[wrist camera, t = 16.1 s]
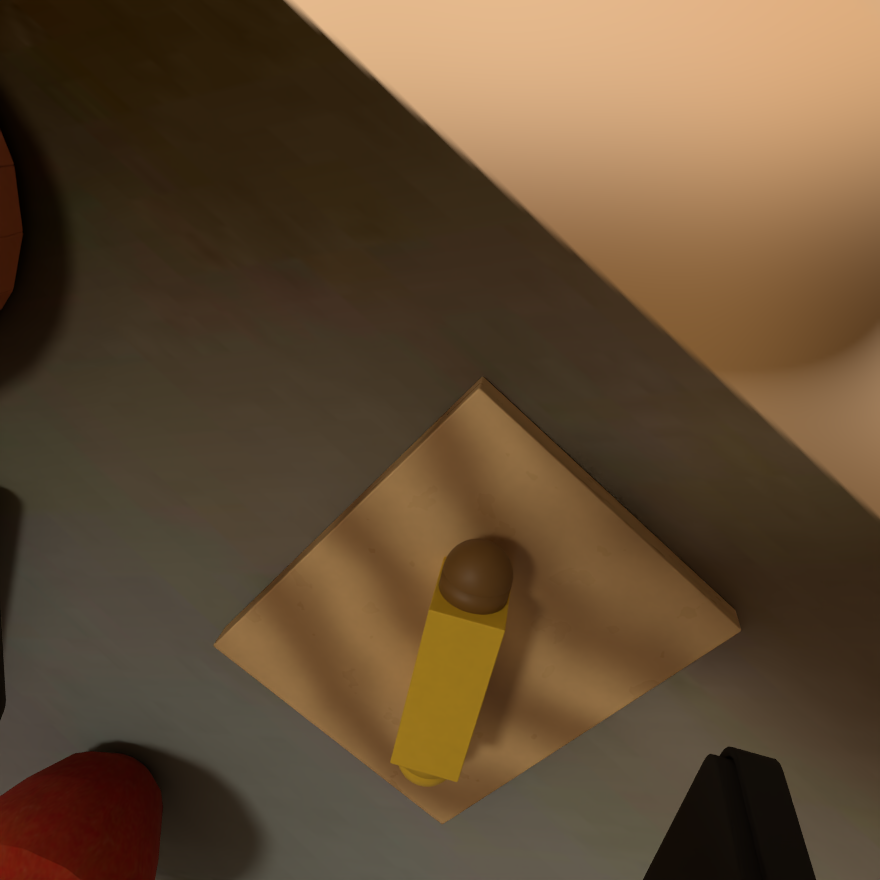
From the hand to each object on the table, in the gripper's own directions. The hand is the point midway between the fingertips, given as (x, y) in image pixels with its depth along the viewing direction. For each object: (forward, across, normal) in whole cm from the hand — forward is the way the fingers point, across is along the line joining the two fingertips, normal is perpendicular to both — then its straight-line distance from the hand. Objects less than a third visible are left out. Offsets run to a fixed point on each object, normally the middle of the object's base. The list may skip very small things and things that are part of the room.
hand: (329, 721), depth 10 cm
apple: (+24, +15, +34) cm, 44 cm away
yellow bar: (+22, -2, +16) cm, 27 cm away
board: (+23, -2, +16) cm, 29 cm away
